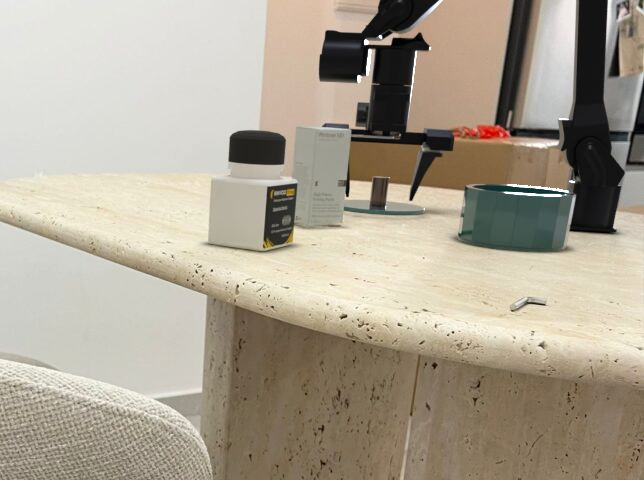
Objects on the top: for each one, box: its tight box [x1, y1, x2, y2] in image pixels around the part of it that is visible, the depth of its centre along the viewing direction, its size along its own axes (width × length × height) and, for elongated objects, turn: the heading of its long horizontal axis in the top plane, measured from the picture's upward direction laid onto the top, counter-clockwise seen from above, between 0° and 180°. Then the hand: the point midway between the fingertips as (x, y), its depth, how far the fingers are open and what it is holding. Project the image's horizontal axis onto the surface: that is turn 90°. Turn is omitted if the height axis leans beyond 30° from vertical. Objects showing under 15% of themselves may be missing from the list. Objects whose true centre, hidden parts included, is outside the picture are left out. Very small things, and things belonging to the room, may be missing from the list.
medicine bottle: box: [207, 129, 298, 252], centre depth 103 cm, size 7×7×12 cm
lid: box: [344, 175, 426, 216], centre depth 139 cm, size 14×14×5 cm
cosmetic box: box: [291, 125, 351, 229], centre depth 121 cm, size 6×4×12 cm
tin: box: [457, 183, 576, 253], centre depth 115 cm, size 13×13×6 cm
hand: (378, 198), depth 139 cm, fingers open, 9 cm apart
